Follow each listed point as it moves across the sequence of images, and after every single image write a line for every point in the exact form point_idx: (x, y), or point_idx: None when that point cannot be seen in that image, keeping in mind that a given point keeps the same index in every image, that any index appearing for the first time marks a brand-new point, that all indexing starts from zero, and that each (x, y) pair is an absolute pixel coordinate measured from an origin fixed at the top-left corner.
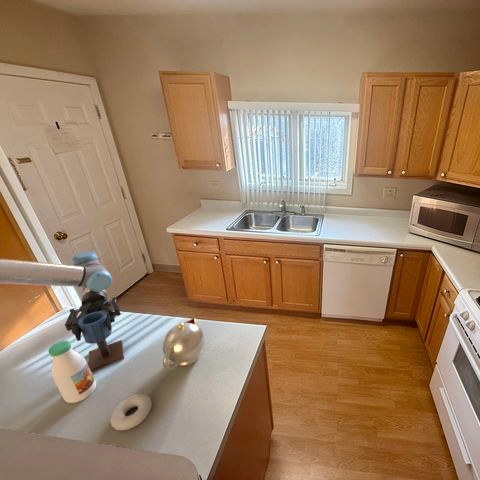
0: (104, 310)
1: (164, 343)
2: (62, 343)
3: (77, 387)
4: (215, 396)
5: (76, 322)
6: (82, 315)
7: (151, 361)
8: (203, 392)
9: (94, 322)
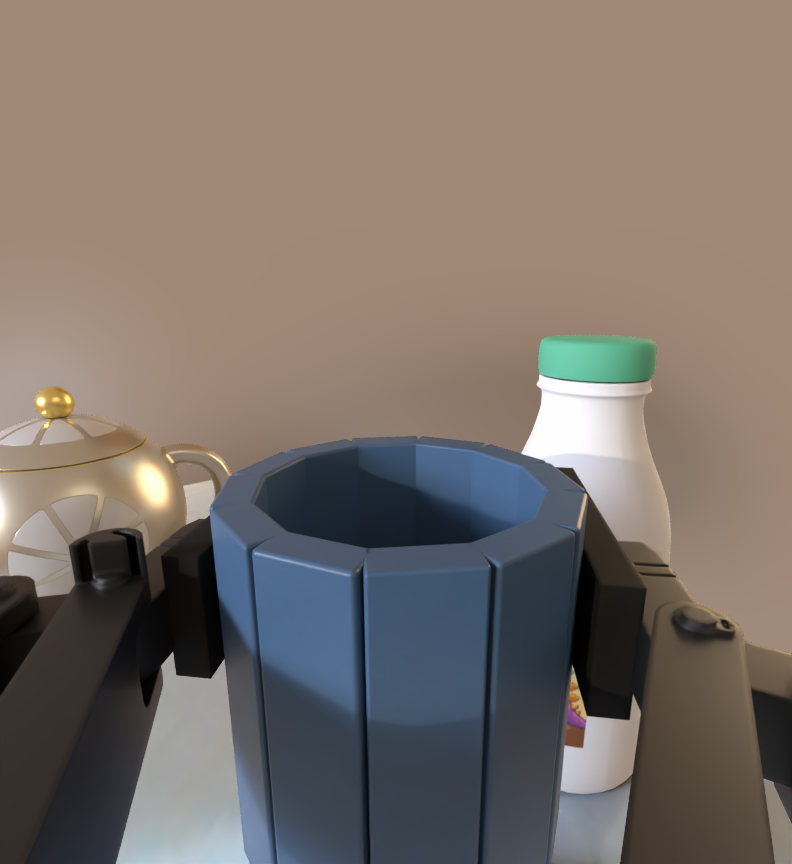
0: (82, 773)
1: (156, 470)
2: (583, 337)
3: None
4: (200, 502)
5: (657, 617)
6: (628, 824)
7: (198, 702)
8: (206, 517)
9: (388, 443)
